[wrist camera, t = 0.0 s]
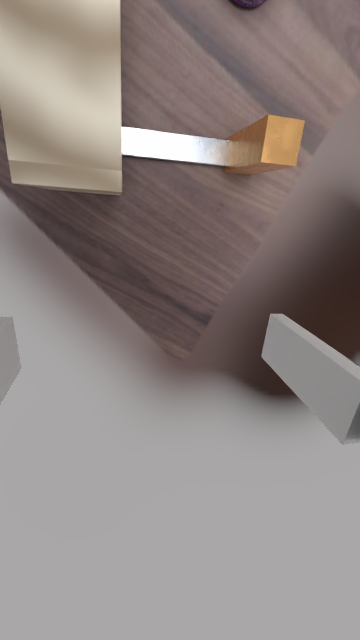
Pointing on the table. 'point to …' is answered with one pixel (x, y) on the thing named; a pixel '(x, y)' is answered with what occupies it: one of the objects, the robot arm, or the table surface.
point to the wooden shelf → (62, 93)
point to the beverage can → (249, 2)
